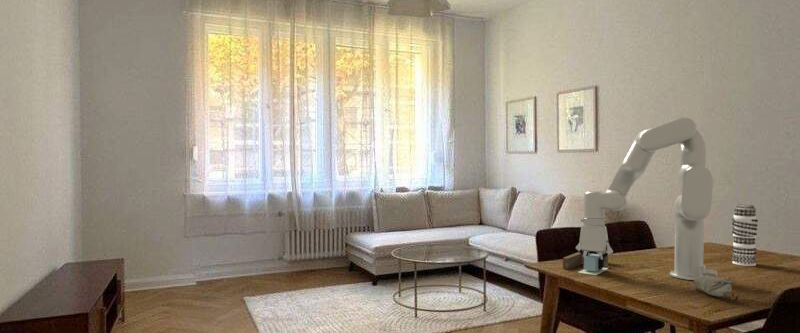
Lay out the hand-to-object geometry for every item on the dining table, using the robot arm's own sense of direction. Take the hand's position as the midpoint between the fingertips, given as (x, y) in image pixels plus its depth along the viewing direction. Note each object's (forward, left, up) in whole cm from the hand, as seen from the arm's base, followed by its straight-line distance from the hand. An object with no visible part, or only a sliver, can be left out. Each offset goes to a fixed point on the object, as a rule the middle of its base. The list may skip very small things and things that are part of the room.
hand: (593, 267), depth 203 cm
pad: (0, 0, -1) cm, 1 cm away
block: (0, 0, 0) cm, 0 cm away
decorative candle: (-44, -54, -1) cm, 70 cm away
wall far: (+10, -3, -1) cm, 10 cm away
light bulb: (+3, -18, -1) cm, 18 cm away
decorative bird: (-43, +12, -2) cm, 45 cm away
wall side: (+4, -10, -1) cm, 11 cm away
